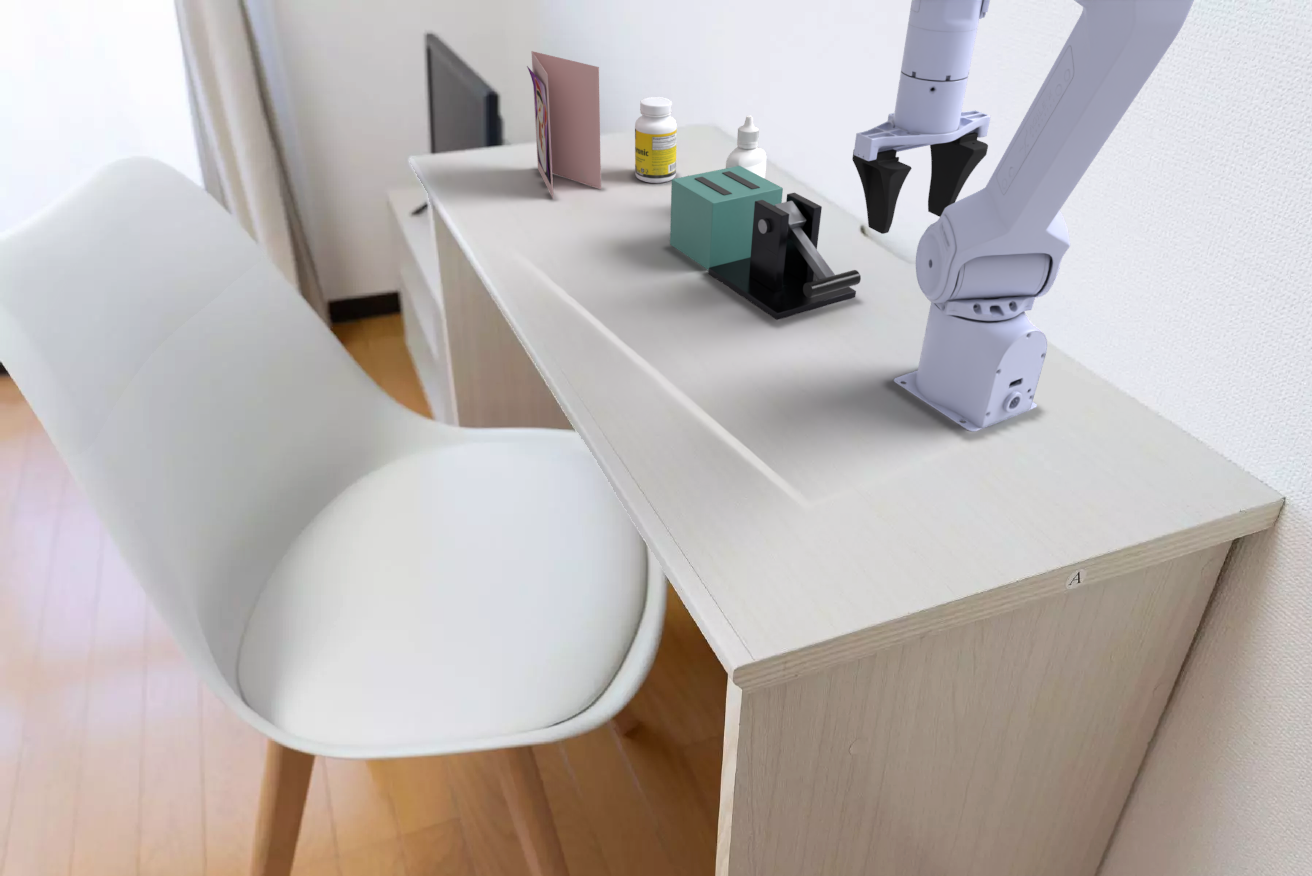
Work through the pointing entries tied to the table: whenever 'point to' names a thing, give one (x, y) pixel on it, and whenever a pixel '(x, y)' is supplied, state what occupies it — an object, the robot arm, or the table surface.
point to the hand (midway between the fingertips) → (908, 222)
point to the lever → (814, 257)
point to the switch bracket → (778, 263)
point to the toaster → (717, 213)
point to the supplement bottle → (655, 141)
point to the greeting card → (566, 119)
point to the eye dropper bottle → (748, 150)
